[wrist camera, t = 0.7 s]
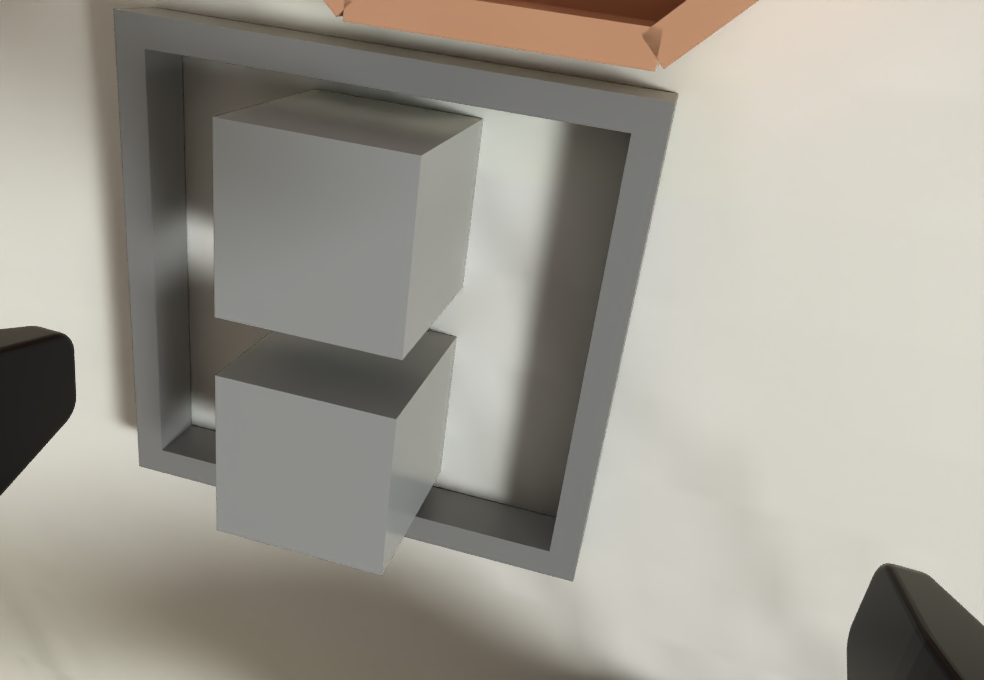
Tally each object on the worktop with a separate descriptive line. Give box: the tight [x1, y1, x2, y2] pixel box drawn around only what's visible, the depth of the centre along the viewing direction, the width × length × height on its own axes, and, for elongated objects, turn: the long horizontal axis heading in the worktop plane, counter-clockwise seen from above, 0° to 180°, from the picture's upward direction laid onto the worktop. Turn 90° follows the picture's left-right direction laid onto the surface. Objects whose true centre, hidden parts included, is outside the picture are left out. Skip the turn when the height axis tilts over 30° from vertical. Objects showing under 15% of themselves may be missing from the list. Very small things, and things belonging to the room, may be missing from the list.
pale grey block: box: [215, 330, 457, 576], centre depth 23 cm, size 4×4×5 cm
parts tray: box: [113, 7, 678, 581], centre depth 23 cm, size 13×14×2 cm
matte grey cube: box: [212, 89, 483, 360], centre depth 20 cm, size 4×4×5 cm
